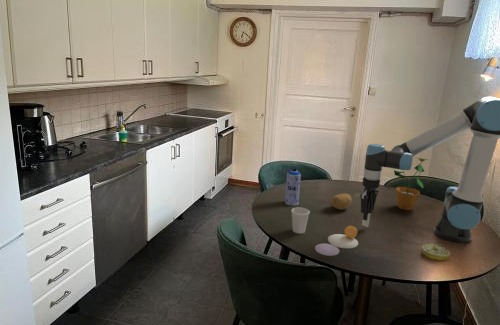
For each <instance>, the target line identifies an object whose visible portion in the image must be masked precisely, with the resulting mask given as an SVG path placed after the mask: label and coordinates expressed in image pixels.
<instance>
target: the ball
mask: <svg viewBox="0 0 500 325" xmlns="http://www.w3.org/2000/svg"><path fill="white" fill-rule="evenodd" d="M344 235H346V236H347V237H348V238H356V237H357V235H358V229H357V228H356V227H355V225H354V226H353V225H348V226H346V227H345V229H344Z"/></svg>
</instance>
